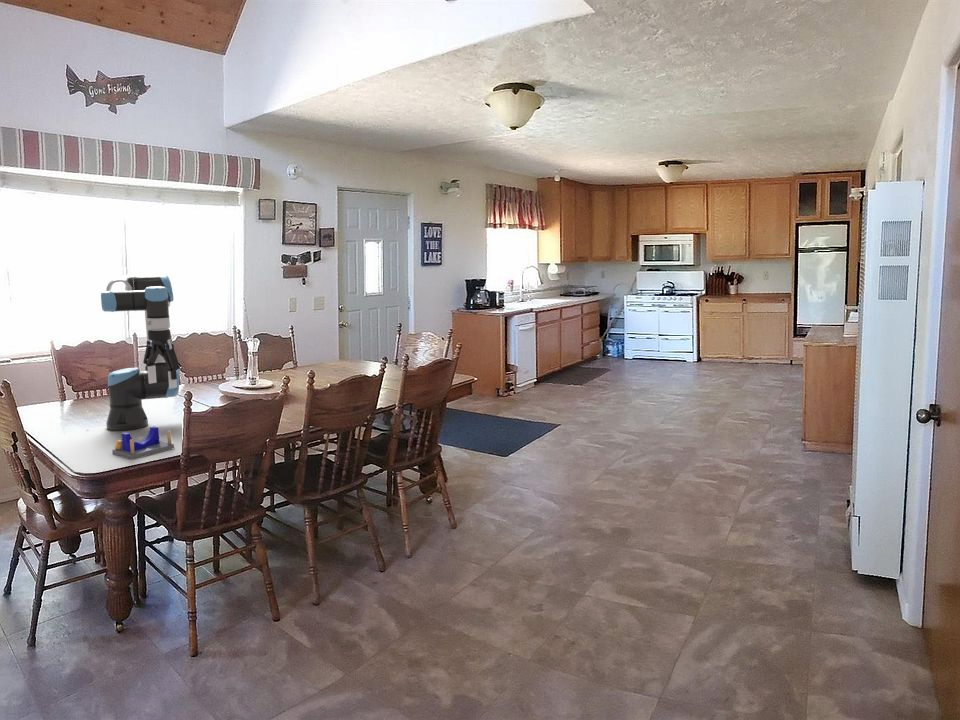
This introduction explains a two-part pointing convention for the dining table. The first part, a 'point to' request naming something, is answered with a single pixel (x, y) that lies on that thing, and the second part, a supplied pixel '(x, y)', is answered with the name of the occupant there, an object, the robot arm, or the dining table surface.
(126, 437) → the blue u-shaped block
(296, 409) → the dining table surface
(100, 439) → the dining table surface
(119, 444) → the wire nut
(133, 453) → the junction plate
